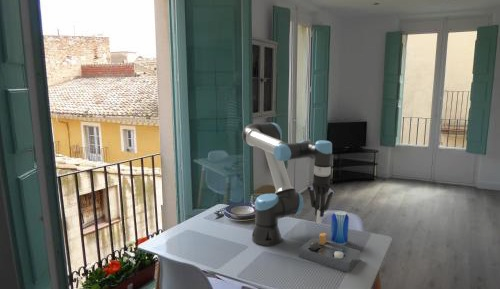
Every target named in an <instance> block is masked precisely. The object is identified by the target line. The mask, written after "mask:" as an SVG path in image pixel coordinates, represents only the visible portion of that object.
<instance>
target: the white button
mask: <svg viewBox="0 0 500 289" xmlns="http://www.w3.org/2000/svg"><path fill="white" fill-rule="evenodd" d="M343 256H344V253H343V252H341V251H336V252H334V257H335V258H339V259H343Z"/></svg>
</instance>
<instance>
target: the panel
mask: <svg viewBox="0 0 500 289" xmlns="http://www.w3.org/2000/svg"><path fill="white" fill-rule="evenodd" d="M311 241H316V242H318V243H319V242H320V238H314V237H312V238H311V239H309V240H308V241H306V242H304V244H302V245H301V246H299V248H298V257H299V258H301V259H304V260H307V261H311V262H314V263H317V264H319V265H323V266H326V267H329V268H332V269H334V270H339V271H342V272H345V273H348V274H349V273H350V272H351V270H353V269H354V267H355V266H356V265H357V263H359V261H361V250H359V249H355V248H352V247H348V246H346V245H340V244H336V243H333V242H332V241H329V240H326V243H325V244H321V243H319V250H318V251H317V252H315V251H312V250H310V242H311ZM336 251H341V252H343V253H344V256H343V259H339V258H335V257H334V252H336Z"/></svg>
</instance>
